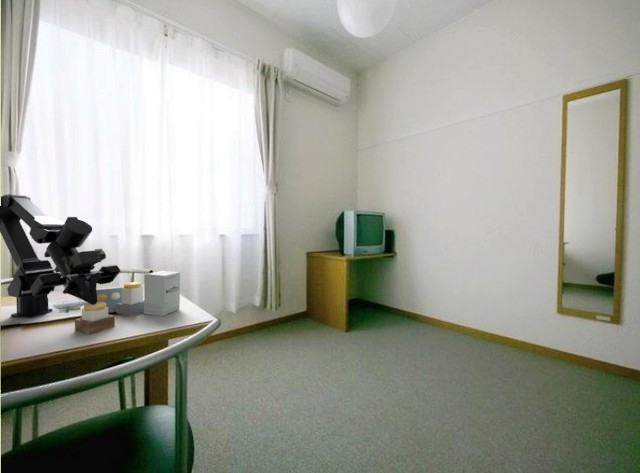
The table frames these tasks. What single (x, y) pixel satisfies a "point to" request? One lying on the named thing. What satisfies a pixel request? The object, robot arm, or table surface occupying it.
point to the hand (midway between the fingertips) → (95, 303)
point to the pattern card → (110, 297)
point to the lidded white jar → (94, 311)
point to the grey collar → (130, 308)
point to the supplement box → (161, 292)
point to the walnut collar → (94, 325)
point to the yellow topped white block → (132, 293)
